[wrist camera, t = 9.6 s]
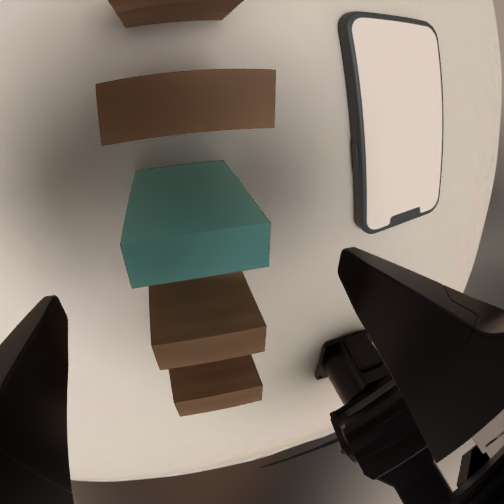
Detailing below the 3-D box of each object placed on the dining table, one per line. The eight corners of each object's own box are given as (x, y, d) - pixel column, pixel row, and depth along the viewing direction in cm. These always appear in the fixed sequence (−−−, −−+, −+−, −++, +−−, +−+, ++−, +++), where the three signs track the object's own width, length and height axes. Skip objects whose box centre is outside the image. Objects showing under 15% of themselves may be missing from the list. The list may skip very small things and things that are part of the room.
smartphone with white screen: (327, 13, 13) (350, 229, 23) (341, 9, 12) (361, 240, 21) (422, 23, 15) (427, 202, 24) (437, 23, 13) (439, 210, 22)
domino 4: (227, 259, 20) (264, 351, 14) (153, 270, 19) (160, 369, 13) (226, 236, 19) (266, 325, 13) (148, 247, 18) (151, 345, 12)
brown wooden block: (230, 312, 23) (261, 399, 17) (166, 323, 22) (180, 416, 15) (229, 295, 22) (262, 385, 16) (161, 306, 21) (173, 402, 14)
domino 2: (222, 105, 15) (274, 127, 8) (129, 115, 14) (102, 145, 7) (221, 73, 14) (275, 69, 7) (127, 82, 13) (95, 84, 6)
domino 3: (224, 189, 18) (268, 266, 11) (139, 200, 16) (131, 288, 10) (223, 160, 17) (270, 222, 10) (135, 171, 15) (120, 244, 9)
